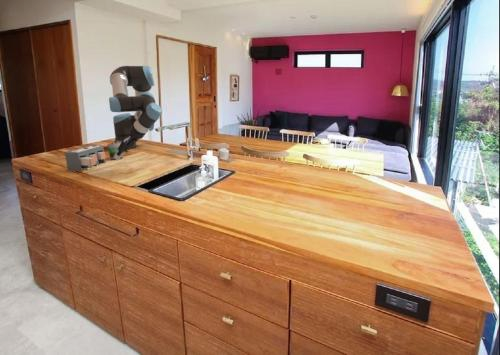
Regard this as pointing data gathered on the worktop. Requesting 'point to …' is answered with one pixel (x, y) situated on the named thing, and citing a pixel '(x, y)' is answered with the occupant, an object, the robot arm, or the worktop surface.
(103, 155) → the plunger
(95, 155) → the plunger middle
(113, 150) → the food container
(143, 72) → the robot arm
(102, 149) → the grey slotted holder
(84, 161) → the plunger
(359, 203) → the worktop surface
